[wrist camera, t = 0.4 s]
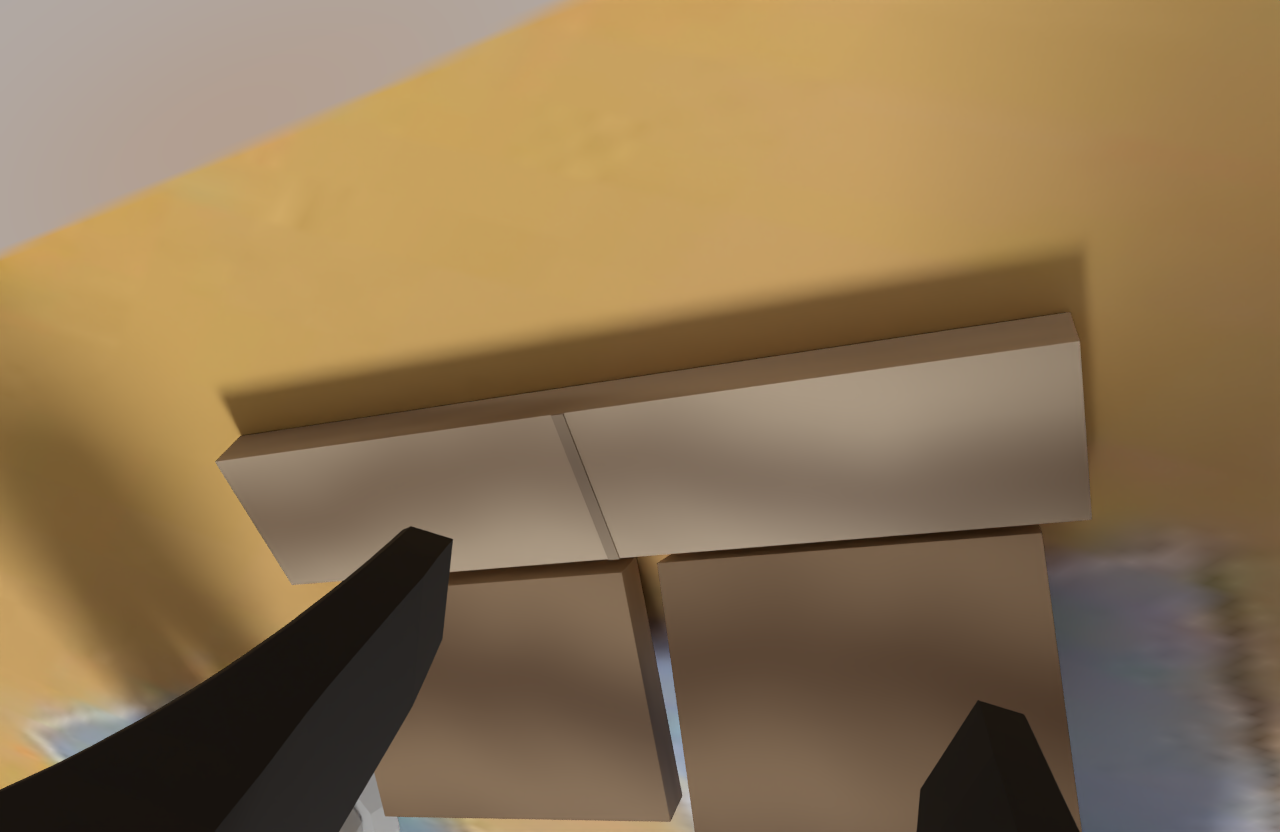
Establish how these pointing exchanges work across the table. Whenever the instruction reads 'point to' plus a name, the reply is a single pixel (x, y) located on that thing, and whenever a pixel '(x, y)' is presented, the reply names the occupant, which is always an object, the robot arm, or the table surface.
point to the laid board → (694, 458)
